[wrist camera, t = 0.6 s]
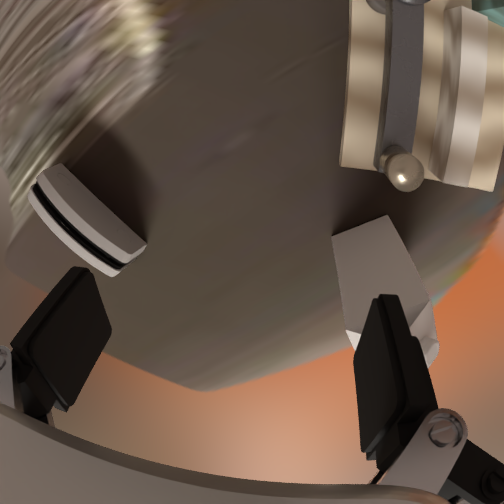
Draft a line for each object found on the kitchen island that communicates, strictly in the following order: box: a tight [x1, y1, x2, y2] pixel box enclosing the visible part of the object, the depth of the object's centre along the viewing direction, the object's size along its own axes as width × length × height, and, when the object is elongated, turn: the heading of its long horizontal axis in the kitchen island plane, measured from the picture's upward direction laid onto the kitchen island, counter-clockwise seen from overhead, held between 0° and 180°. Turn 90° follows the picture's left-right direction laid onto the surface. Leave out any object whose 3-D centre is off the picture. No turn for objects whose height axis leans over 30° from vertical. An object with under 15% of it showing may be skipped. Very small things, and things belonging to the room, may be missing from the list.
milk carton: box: [331, 215, 439, 368], centre depth 28 cm, size 7×7×19 cm
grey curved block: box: [27, 163, 147, 277], centre depth 35 cm, size 17×5×10 cm, turn 45°
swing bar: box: [373, 0, 431, 192], centre depth 18 cm, size 18×4×6 cm, turn 179°
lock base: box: [339, 0, 504, 192], centre depth 20 cm, size 24×19×9 cm
